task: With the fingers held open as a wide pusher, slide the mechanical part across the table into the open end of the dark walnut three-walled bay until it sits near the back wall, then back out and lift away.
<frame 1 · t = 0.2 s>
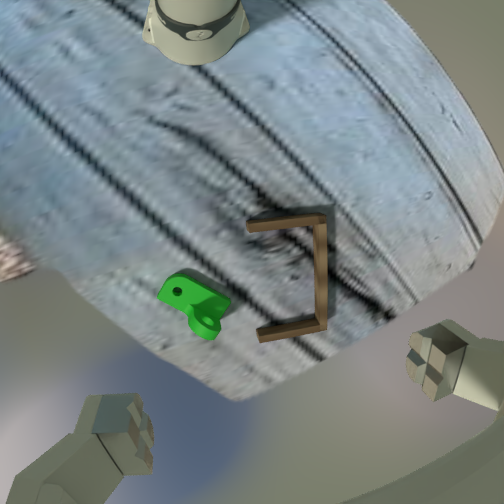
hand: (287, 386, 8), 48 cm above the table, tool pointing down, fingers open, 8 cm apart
mechanical part: (193, 295, 58), on the table
walnut bay: (284, 277, 60), on the table
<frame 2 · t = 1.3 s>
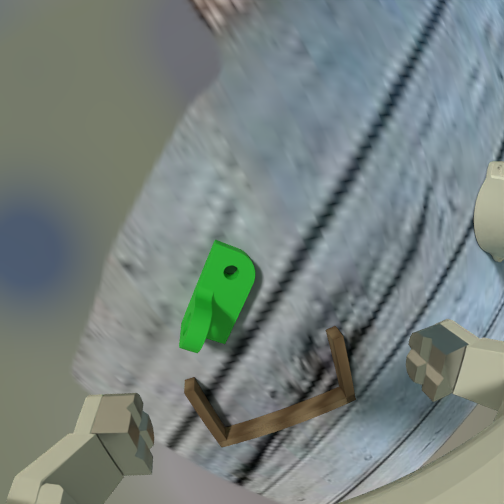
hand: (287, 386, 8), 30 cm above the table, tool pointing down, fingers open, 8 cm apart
mechanical part: (219, 290, 40), on the table
walnut bay: (272, 385, 45), on the table
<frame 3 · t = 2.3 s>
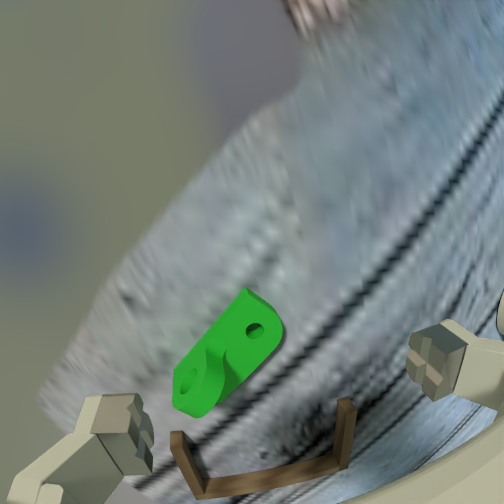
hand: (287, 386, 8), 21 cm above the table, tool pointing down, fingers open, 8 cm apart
mechanical part: (230, 343, 32), on the table
walnut bay: (265, 447, 37), on the table
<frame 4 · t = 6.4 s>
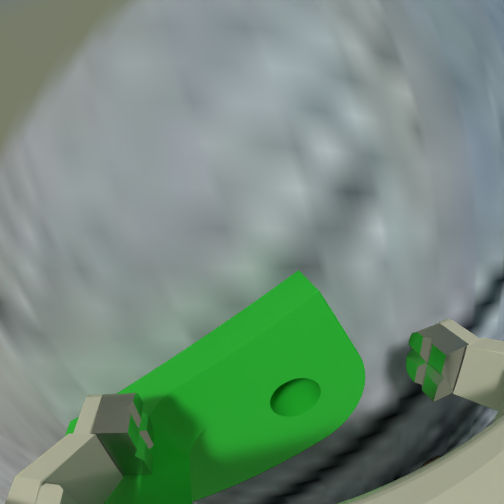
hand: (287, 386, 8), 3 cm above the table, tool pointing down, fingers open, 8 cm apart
mechanical part: (211, 405, 12), on the table, touching gripper
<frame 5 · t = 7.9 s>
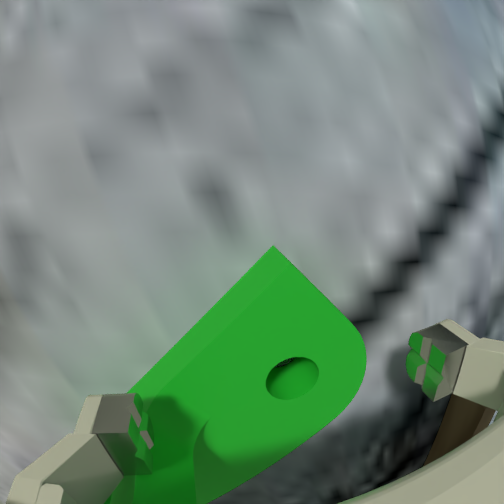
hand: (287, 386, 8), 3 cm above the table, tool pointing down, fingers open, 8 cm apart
mechanical part: (216, 398, 12), on the table, touching gripper
walnut bay: (300, 497, 15), on the table
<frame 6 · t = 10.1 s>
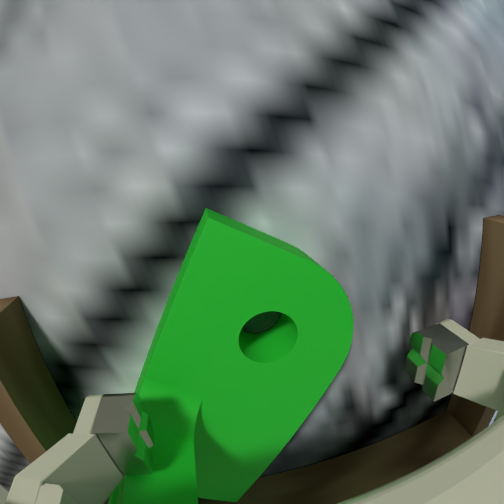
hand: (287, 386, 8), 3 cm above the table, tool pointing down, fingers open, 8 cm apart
mechanical part: (219, 378, 12), on the table
walnut bay: (297, 393, 12), on the table
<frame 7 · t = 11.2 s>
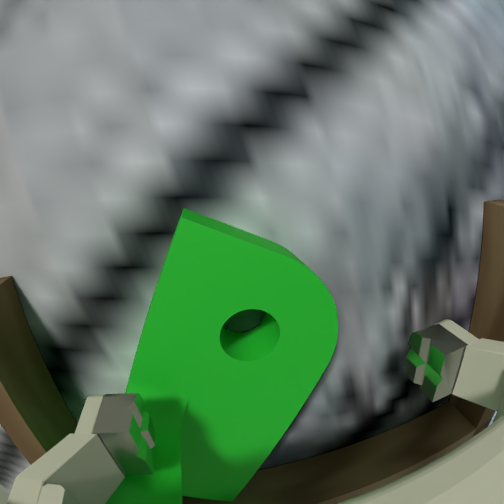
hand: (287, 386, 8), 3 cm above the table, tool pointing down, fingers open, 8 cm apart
mechanical part: (208, 377, 12), on the table, touching walnut bay
walnut bay: (296, 380, 12), on the table
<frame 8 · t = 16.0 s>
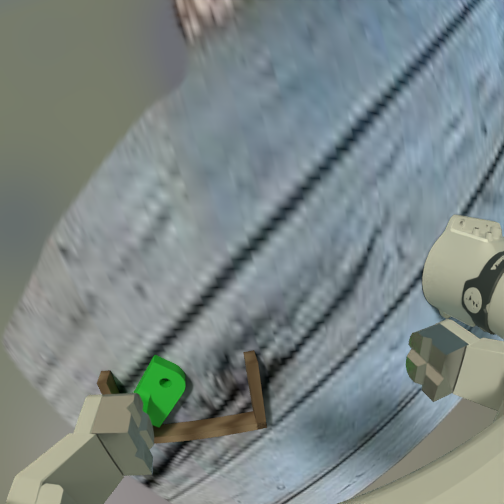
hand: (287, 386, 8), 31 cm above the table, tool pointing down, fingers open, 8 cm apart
mechanical part: (157, 388, 43), on the table
walnut bay: (184, 395, 44), on the table
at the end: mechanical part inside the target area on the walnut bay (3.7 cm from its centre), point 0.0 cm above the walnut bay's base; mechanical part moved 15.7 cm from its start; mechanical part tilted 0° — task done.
